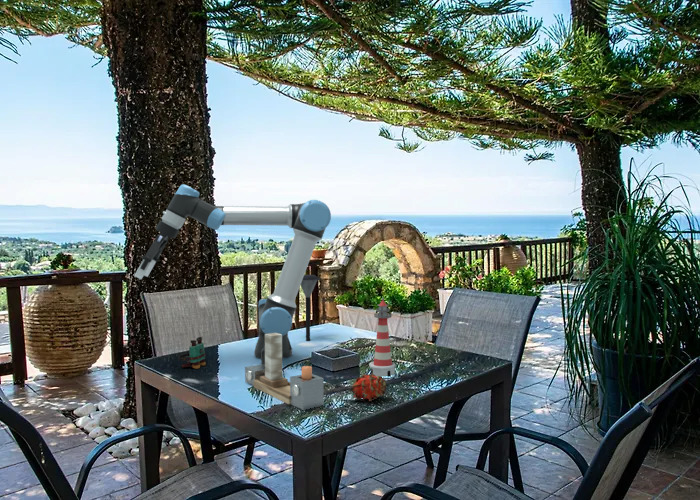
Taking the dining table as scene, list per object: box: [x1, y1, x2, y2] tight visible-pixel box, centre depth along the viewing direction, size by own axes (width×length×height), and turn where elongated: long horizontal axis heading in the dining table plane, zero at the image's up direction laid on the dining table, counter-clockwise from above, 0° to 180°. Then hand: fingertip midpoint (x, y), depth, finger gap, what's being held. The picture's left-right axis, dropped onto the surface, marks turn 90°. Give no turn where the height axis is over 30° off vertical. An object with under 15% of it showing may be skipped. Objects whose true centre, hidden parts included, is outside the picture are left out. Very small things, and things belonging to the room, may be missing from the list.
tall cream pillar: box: [260, 333, 289, 388], centre depth 174 cm, size 6×8×16 cm
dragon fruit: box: [349, 372, 388, 402], centre depth 163 cm, size 8×8×12 cm
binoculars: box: [177, 336, 207, 370], centre depth 203 cm, size 9×11×10 cm
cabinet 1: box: [244, 364, 265, 387], centre depth 182 cm, size 8×7×5 cm
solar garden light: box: [300, 274, 321, 342], centre depth 249 cm, size 12×12×30 cm
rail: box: [253, 380, 291, 405], centre depth 170 cm, size 8×22×2 cm, turn 37°
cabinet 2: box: [289, 373, 325, 411], centre depth 159 cm, size 8×7×8 cm
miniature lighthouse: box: [368, 297, 396, 376], centre depth 190 cm, size 9×9×30 cm
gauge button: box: [301, 365, 313, 380], centre depth 159 cm, size 3×3×6 cm
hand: (140, 276), depth 196 cm, fingers open, 13 cm apart
